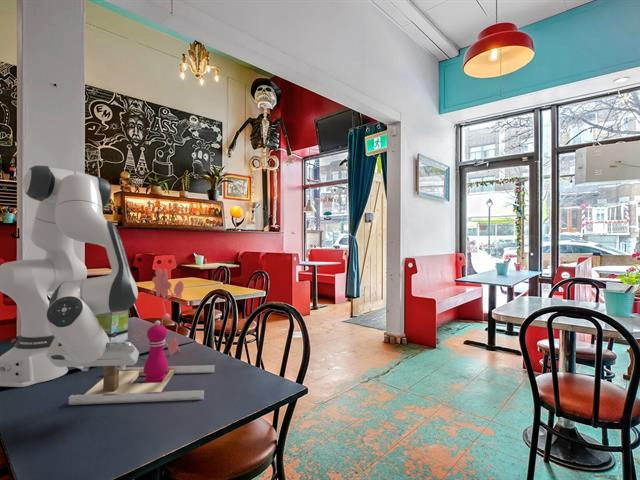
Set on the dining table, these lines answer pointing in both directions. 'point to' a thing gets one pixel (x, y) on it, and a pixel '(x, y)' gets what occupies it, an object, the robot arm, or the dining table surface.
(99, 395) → the runner track
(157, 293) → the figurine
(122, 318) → the tea box
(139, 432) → the dining table surface
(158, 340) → the pepper mill
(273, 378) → the dining table surface
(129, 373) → the beige piece
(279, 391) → the dining table surface
